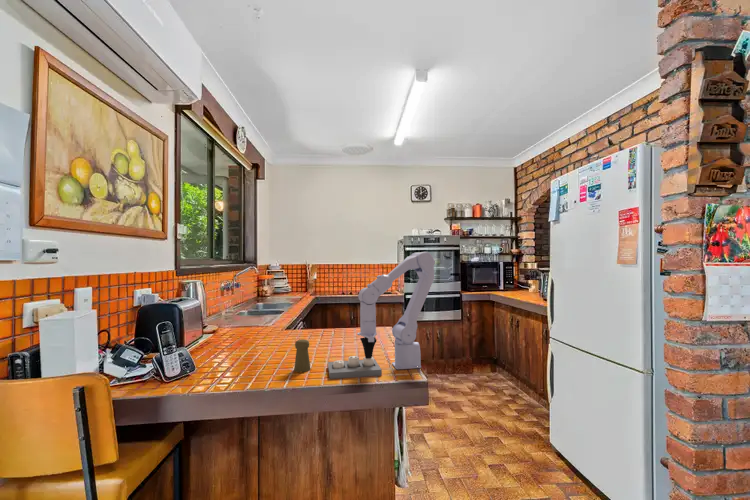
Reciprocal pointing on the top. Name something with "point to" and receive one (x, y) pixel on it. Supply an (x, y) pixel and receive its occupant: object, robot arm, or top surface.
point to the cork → (302, 356)
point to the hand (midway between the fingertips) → (368, 357)
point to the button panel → (354, 370)
